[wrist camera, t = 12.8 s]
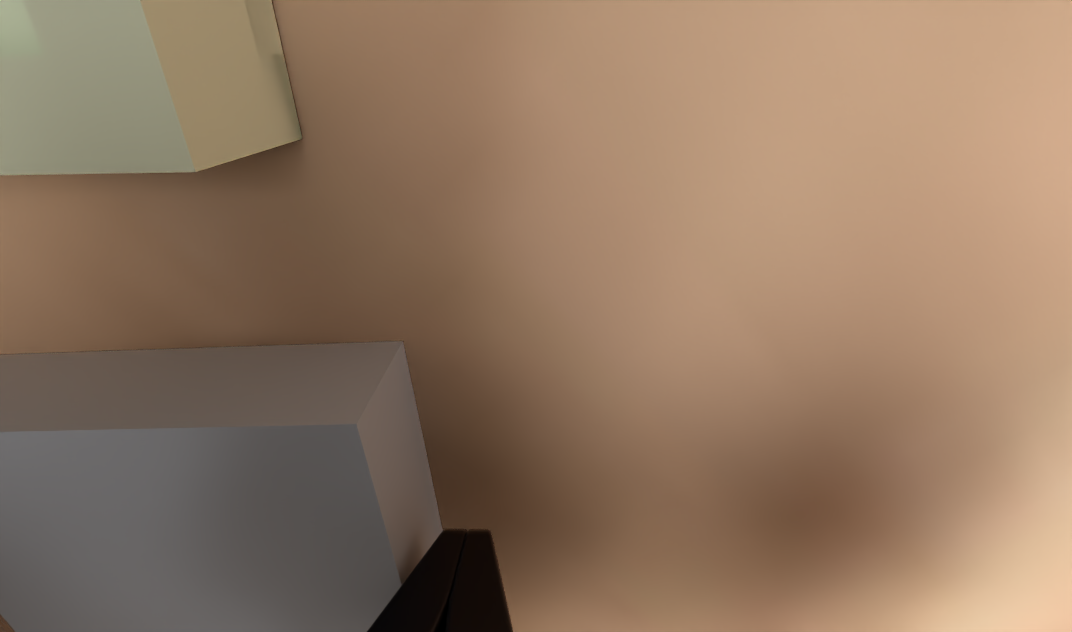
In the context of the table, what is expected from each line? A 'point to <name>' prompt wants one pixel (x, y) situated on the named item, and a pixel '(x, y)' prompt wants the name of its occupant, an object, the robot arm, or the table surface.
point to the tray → (140, 85)
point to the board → (210, 488)
